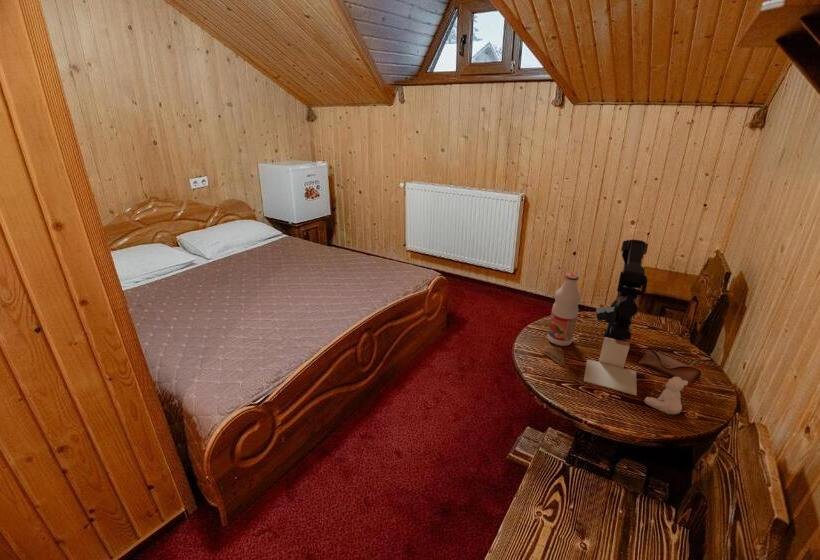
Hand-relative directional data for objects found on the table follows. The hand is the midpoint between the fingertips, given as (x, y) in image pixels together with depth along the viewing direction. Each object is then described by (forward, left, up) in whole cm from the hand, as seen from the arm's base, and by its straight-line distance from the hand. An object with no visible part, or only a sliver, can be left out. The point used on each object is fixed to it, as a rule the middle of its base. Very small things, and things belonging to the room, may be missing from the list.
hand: (615, 343), depth 144 cm
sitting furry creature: (+19, +16, -8) cm, 26 cm away
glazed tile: (+1, 0, -8) cm, 8 cm away
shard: (+5, -18, -8) cm, 20 cm away
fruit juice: (-7, -19, -8) cm, 22 cm away
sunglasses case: (-4, +18, -8) cm, 20 cm away
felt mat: (+10, 0, -8) cm, 13 cm away
